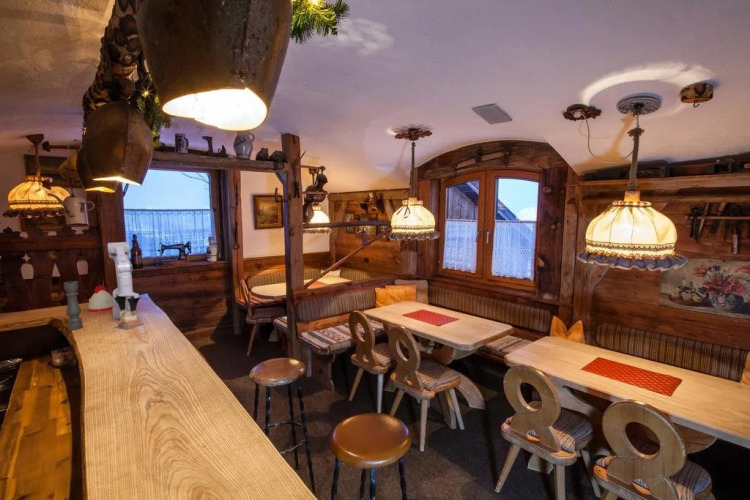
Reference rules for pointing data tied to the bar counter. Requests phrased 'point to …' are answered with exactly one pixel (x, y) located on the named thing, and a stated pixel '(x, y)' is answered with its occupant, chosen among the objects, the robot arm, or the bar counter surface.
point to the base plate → (128, 328)
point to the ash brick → (127, 316)
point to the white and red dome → (100, 300)
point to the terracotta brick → (129, 323)
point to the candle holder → (73, 306)
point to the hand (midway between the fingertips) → (128, 310)
